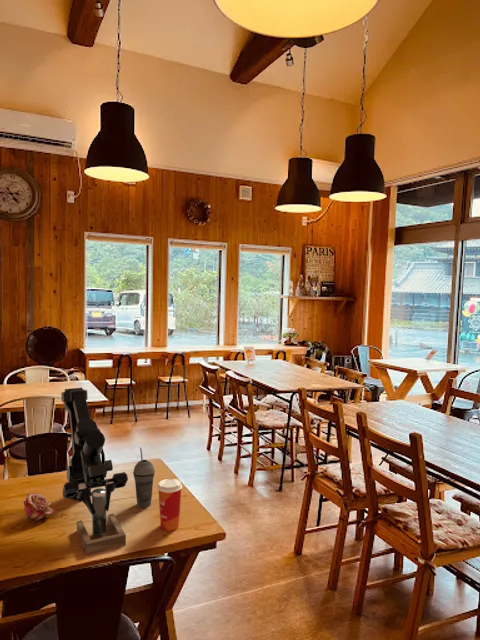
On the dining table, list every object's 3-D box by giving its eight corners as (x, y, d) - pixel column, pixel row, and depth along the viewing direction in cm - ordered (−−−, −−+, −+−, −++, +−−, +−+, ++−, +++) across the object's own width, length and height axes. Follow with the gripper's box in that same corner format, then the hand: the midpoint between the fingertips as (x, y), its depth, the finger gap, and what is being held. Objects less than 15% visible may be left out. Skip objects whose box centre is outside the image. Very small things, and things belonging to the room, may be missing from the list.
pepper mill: (89, 532, 142) (89, 492, 141) (98, 526, 146) (98, 487, 145) (99, 536, 141) (99, 495, 139) (109, 530, 144) (108, 490, 143)
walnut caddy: (76, 530, 145) (76, 521, 145) (113, 522, 151) (113, 513, 151) (86, 554, 133) (86, 544, 133) (125, 544, 138) (125, 534, 138)
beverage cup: (150, 511, 159) (149, 452, 157) (129, 508, 160) (129, 450, 159) (158, 501, 166) (158, 445, 164) (138, 499, 167) (138, 443, 166)
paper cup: (158, 520, 152) (158, 478, 151) (182, 520, 153) (182, 477, 152) (156, 533, 145) (156, 488, 144) (181, 532, 145) (181, 488, 144)
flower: (15, 523, 146) (31, 502, 146) (14, 505, 154) (29, 485, 154) (43, 533, 151) (59, 512, 151) (40, 514, 159) (55, 495, 159)
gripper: (63, 456, 140) (70, 509, 131) (126, 447, 149) (136, 495, 140) (59, 472, 148) (66, 523, 139) (119, 462, 157) (129, 509, 148)
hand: (100, 512), depth 141 cm, fingers closed on pepper mill, 4 cm apart
